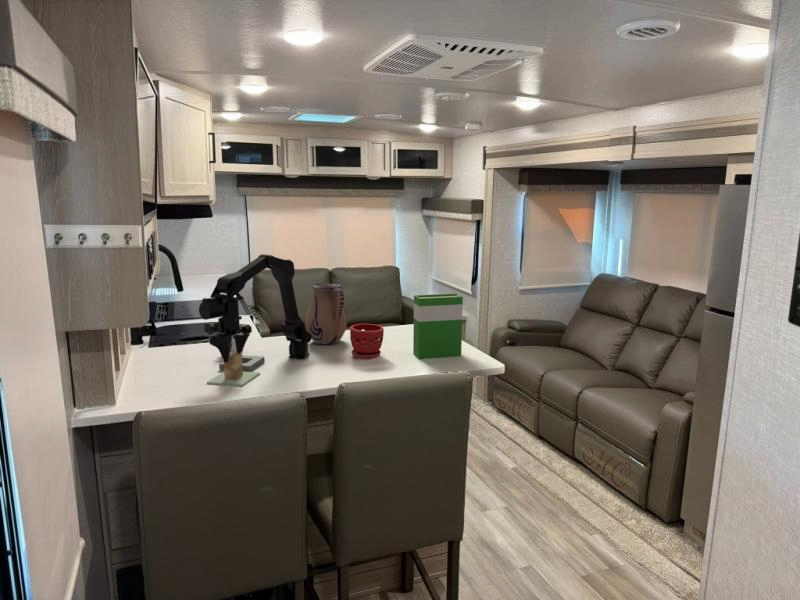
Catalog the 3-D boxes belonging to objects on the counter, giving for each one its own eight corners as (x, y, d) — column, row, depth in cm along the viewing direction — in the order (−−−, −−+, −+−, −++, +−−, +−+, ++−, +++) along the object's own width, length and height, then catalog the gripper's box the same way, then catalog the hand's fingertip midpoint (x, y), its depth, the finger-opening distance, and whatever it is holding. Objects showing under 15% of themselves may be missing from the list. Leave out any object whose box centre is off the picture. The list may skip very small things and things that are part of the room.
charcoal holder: (264, 362, 207) (264, 356, 206) (250, 372, 195) (249, 366, 195) (235, 360, 209) (235, 354, 209) (219, 369, 198) (219, 364, 197)
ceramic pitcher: (327, 334, 248) (326, 280, 243) (361, 342, 235) (360, 285, 230) (297, 342, 235) (295, 285, 230) (331, 351, 222) (330, 290, 217)
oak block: (243, 375, 190) (241, 353, 188) (236, 379, 185) (235, 357, 184) (231, 374, 190) (229, 352, 189) (224, 378, 186) (223, 356, 185)
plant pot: (363, 363, 206) (363, 332, 204) (344, 355, 216) (343, 326, 214) (390, 356, 215) (390, 327, 212) (370, 349, 224) (370, 321, 222)
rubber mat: (259, 374, 193) (259, 372, 193) (242, 386, 180) (242, 384, 180) (226, 371, 196) (226, 370, 195) (206, 383, 183) (206, 382, 183)
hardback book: (454, 351, 223) (456, 293, 218) (461, 356, 216) (462, 296, 211) (413, 354, 218) (413, 295, 214) (418, 359, 211) (419, 298, 207)
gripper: (222, 307, 194) (224, 349, 197) (193, 318, 176) (196, 365, 179) (251, 309, 192) (253, 351, 195) (224, 320, 174) (227, 367, 177)
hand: (232, 358), depth 187 cm, fingers open, 9 cm apart
